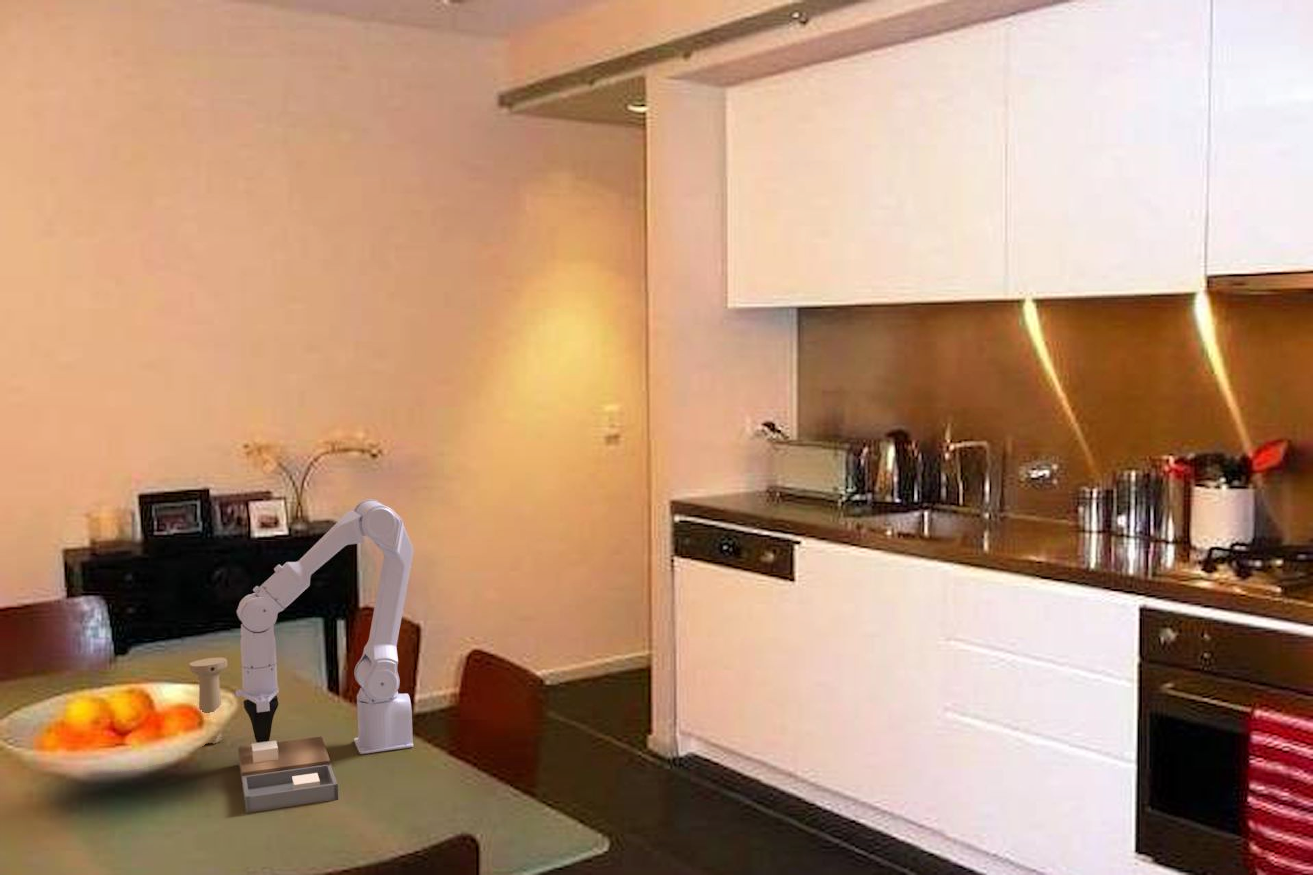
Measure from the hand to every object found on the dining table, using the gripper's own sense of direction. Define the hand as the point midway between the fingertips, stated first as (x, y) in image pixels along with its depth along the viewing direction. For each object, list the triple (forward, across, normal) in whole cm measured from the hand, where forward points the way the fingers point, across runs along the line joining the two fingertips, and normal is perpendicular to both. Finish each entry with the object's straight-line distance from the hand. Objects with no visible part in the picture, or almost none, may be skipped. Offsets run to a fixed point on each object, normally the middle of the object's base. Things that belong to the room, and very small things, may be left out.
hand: (262, 740), depth 212 cm
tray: (+4, +17, +3) cm, 18 cm away
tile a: (+2, +17, +6) cm, 18 cm away
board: (+4, +5, +3) cm, 7 cm away
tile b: (+1, +6, 0) cm, 6 cm away
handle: (+4, -15, -8) cm, 18 cm away
